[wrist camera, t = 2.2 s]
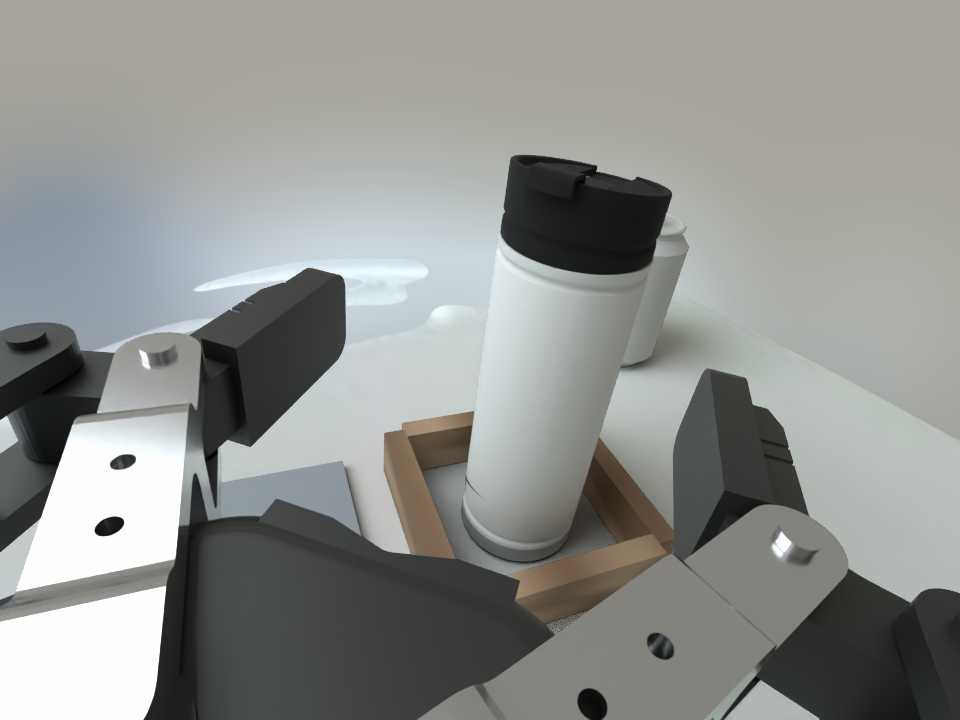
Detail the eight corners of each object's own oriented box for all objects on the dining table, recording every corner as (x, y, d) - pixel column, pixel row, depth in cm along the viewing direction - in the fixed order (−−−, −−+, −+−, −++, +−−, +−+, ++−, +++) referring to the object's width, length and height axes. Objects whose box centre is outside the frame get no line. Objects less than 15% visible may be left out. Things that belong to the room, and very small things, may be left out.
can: (552, 329, 50) (579, 199, 43) (622, 323, 52) (658, 199, 46) (591, 376, 44) (630, 235, 37) (668, 367, 46) (717, 233, 40)
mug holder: (557, 430, 38) (566, 396, 36) (668, 583, 29) (686, 547, 27) (381, 463, 34) (382, 426, 32) (444, 657, 24) (449, 619, 23)
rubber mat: (342, 466, 33) (342, 460, 33) (395, 680, 23) (395, 675, 23) (88, 514, 28) (85, 507, 28) (19, 806, 19) (14, 801, 18)
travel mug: (434, 526, 30) (471, 149, 19) (499, 461, 35) (559, 129, 24) (531, 591, 27) (640, 197, 16) (587, 511, 32) (701, 164, 21)
